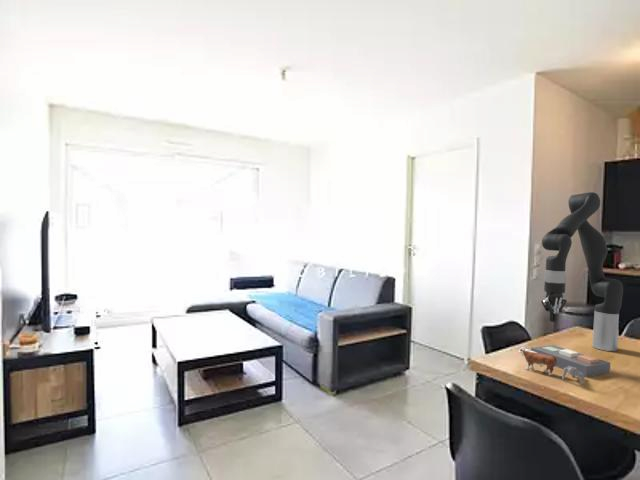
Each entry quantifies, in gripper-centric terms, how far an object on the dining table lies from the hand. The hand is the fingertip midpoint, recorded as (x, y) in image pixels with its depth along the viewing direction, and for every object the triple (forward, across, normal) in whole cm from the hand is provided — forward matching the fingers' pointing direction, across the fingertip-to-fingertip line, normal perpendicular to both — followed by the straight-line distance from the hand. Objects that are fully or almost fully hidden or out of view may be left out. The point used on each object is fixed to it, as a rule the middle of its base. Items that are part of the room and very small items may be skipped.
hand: (553, 321), depth 159 cm
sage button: (+15, 0, 0) cm, 15 cm away
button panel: (+16, 0, +7) cm, 17 cm away
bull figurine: (+16, +20, +8) cm, 27 cm away
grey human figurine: (+16, +16, +20) cm, 30 cm away
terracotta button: (+13, 0, +15) cm, 20 cm away
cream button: (+13, 0, +7) cm, 15 cm away
